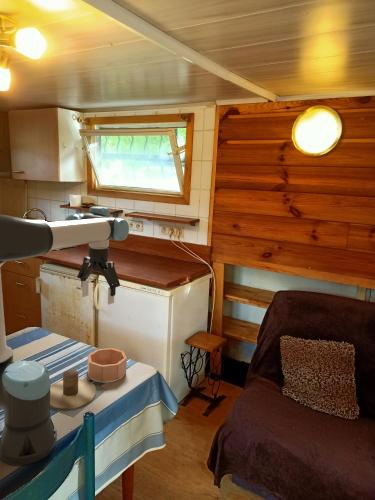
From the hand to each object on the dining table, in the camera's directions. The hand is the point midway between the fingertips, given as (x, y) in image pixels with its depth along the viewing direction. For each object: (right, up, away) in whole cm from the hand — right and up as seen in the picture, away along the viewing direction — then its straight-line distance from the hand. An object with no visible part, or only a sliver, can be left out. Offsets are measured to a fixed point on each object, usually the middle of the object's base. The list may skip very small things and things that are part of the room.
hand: (97, 299), depth 146 cm
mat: (-5, -31, -18) cm, 36 cm away
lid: (-5, -30, -18) cm, 36 cm away
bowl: (+4, -28, -3) cm, 29 cm away
